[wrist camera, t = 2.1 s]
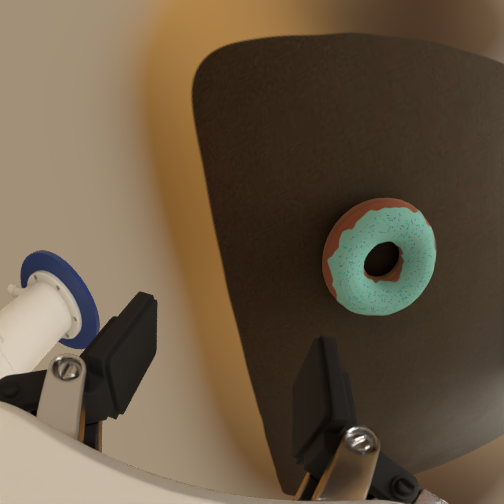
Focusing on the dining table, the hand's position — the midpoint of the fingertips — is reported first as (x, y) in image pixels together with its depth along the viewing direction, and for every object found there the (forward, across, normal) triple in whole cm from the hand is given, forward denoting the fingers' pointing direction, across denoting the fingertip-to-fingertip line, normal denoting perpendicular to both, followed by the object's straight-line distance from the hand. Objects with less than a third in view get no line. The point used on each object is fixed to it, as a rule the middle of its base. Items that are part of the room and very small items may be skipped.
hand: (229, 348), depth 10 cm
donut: (+18, -12, 0) cm, 21 cm away
